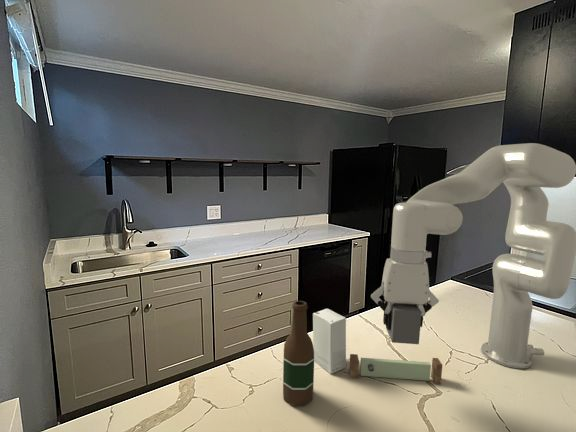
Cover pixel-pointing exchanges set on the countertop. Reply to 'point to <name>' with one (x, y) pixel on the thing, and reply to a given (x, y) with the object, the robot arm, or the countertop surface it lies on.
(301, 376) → the beer bottle
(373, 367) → the door
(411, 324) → the block
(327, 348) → the skincare box
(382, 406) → the countertop surface
